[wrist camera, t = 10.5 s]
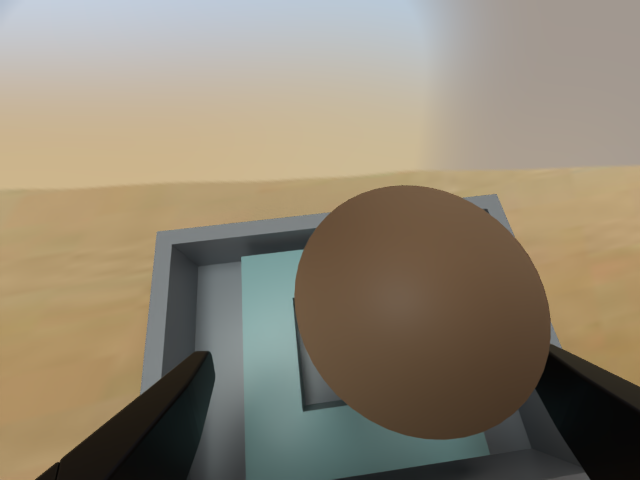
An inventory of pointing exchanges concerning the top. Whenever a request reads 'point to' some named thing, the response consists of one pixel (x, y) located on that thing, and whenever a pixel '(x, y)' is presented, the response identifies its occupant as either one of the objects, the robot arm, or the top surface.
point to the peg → (422, 312)
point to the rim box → (303, 373)
